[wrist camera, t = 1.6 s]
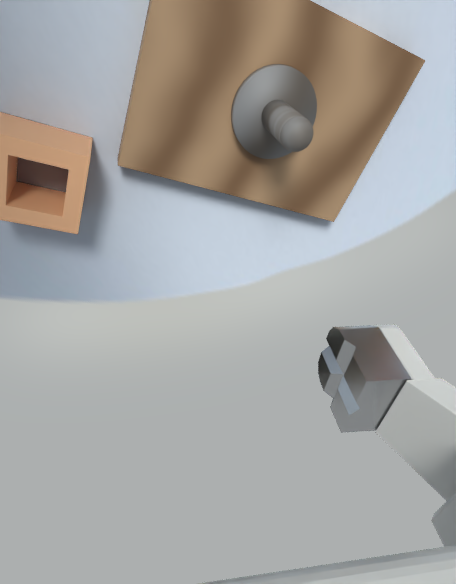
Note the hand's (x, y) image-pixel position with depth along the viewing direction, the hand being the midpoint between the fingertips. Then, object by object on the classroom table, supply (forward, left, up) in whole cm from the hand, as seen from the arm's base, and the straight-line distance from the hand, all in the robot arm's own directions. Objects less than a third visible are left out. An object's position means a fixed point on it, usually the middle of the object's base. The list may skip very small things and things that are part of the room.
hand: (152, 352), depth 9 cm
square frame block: (-5, -7, -25) cm, 26 cm away
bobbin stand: (+10, +2, -25) cm, 27 cm away
